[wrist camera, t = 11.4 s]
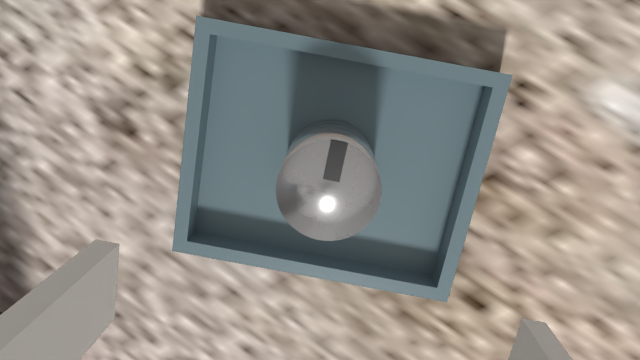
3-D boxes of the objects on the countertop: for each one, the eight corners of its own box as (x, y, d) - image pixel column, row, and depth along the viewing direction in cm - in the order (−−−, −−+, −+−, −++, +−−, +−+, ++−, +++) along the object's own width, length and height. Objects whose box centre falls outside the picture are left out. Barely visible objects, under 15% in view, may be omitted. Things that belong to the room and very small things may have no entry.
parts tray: (183, 237, 38) (172, 250, 36) (207, 17, 34) (196, 15, 31) (440, 285, 39) (446, 302, 36) (499, 72, 34) (512, 75, 31)
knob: (280, 194, 36) (267, 231, 29) (295, 111, 35) (285, 130, 28) (363, 210, 37) (368, 251, 30) (382, 129, 35) (393, 152, 28)
